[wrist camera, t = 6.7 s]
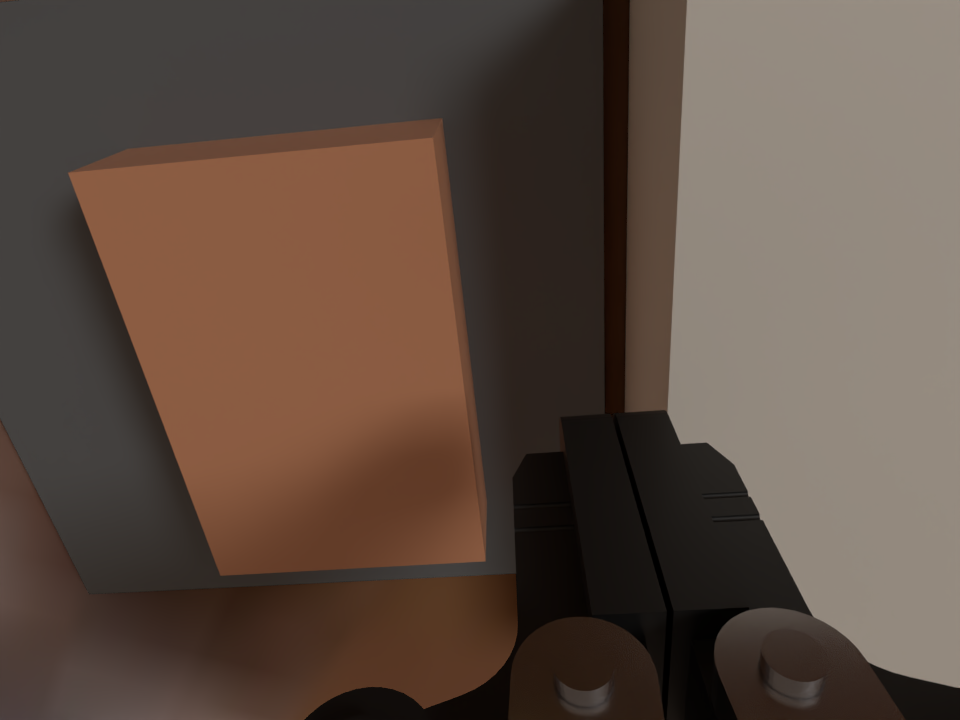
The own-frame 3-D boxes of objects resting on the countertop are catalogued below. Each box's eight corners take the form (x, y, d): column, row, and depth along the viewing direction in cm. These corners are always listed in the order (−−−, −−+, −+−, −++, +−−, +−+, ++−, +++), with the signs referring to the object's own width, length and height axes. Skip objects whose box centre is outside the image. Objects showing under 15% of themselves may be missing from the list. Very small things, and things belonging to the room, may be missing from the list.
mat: (599, -62, 11) (602, -63, 11) (603, 560, 18) (605, 569, 17) (-184, 23, 12) (-199, 24, 12) (94, 585, 19) (88, 594, 18)
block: (68, 172, 11) (127, 149, 13) (220, 575, 15) (249, 515, 17) (432, 137, 11) (442, 118, 12) (485, 561, 15) (486, 501, 17)
